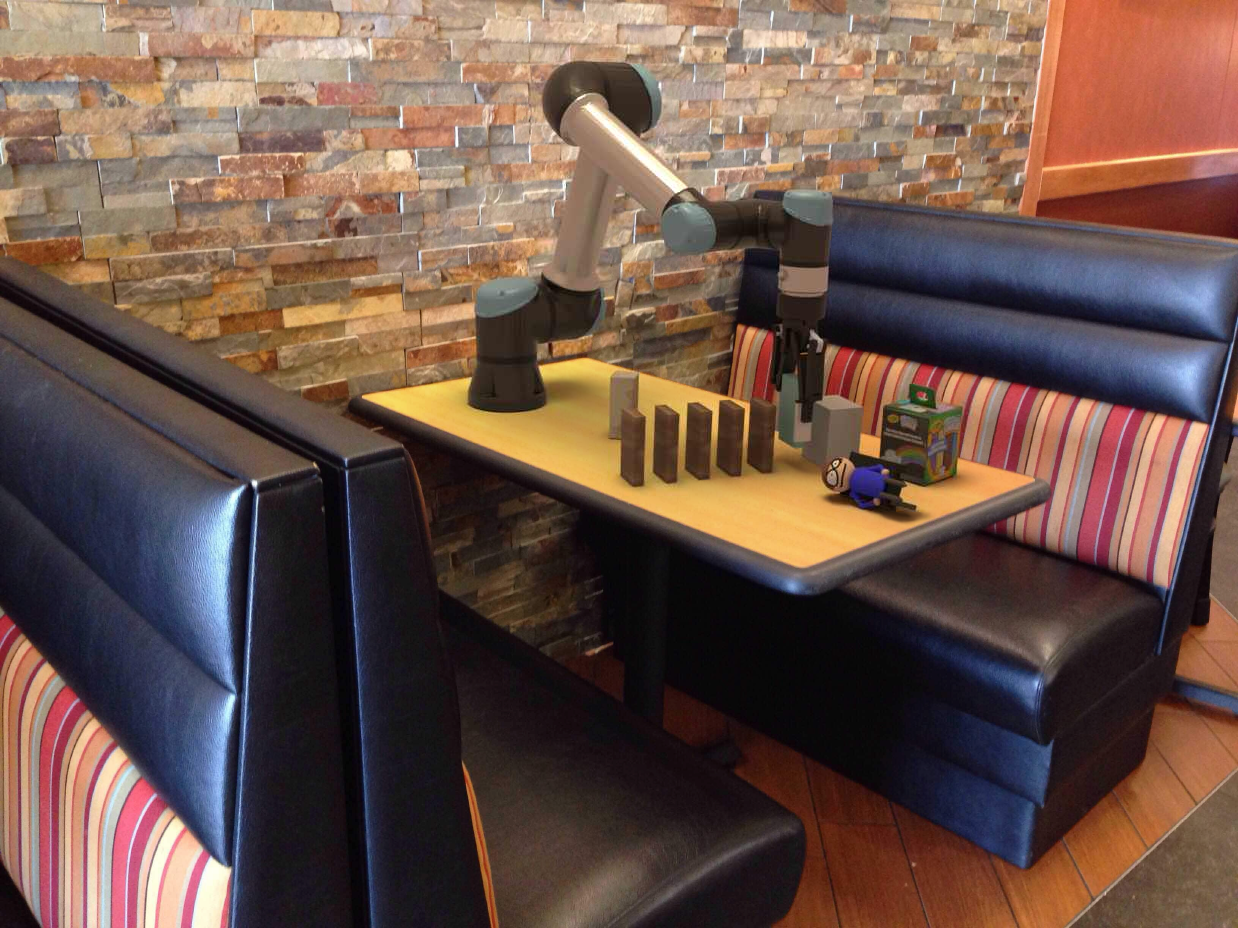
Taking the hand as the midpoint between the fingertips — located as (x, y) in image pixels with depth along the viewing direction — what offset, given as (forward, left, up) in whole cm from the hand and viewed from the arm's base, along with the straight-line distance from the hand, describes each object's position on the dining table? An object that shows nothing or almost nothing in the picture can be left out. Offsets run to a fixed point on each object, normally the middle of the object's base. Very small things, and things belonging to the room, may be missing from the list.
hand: (792, 435), depth 178 cm
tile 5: (0, -6, -5) cm, 8 cm away
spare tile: (0, 0, -1) cm, 1 cm away
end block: (0, +7, -5) cm, 9 cm away
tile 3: (0, -17, -5) cm, 17 cm away
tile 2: (0, -22, -5) cm, 23 cm away
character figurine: (+20, +2, -5) cm, 21 cm away
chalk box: (+10, +17, -5) cm, 21 cm away
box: (-23, -21, -5) cm, 31 cm away
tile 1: (0, -28, -5) cm, 28 cm away
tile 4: (0, -11, -5) cm, 12 cm away
